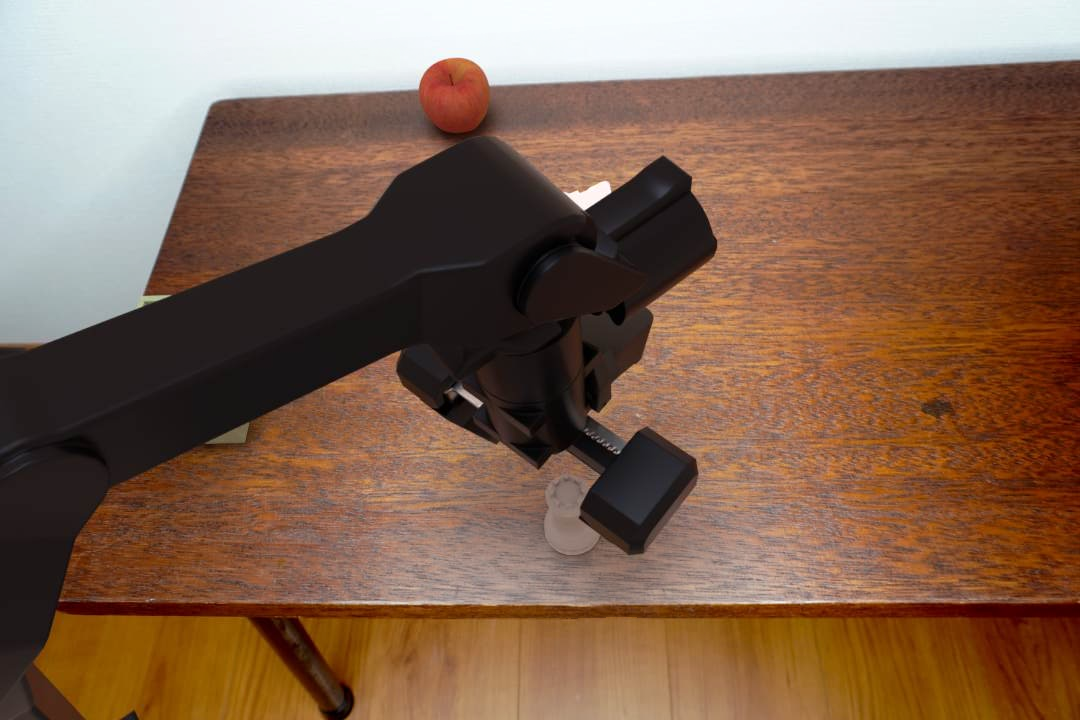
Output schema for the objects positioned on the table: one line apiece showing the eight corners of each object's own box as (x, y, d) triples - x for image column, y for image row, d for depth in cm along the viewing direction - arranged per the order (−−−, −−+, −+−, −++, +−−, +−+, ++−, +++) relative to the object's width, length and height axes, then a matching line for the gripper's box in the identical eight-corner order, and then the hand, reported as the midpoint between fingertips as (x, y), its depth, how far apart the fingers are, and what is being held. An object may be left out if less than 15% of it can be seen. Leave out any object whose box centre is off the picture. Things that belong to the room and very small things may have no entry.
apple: (486, 93, 91) (475, 32, 84) (502, 138, 87) (492, 77, 80) (421, 110, 90) (405, 49, 83) (435, 155, 86) (419, 95, 79)
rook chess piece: (548, 499, 65) (540, 458, 58) (604, 505, 65) (602, 464, 58) (540, 554, 63) (531, 517, 56) (598, 560, 62) (596, 524, 56)
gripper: (771, 340, 41) (735, 466, 54) (495, 181, 48) (522, 326, 62) (640, 506, 37) (635, 597, 51) (360, 306, 44) (421, 432, 58)
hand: (550, 475), depth 55 cm, fingers open, 9 cm apart
